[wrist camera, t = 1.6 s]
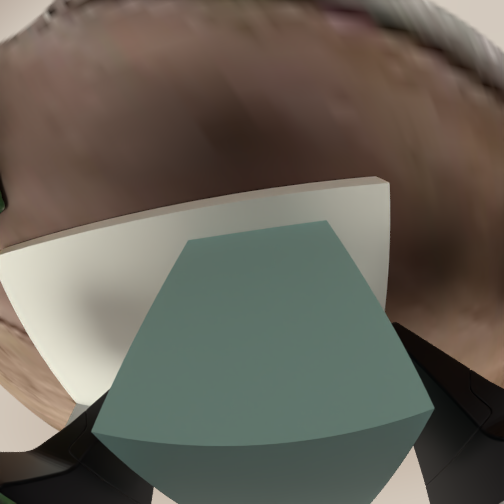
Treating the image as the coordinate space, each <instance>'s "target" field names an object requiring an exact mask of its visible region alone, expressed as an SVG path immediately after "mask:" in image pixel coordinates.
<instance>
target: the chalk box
mask: <svg viewBox="0 0 504 504" xmlns="http://www.w3.org/2000/svg"><path fill="white" fill-rule="evenodd" d="M4 208H5V204H4V201H3V199H2V195H1V192H0V213H1V212H2V211H3V210H4Z"/></svg>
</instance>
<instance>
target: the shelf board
mask: <svg viewBox="0 0 504 504" xmlns="http://www.w3.org/2000/svg"><path fill="white" fill-rule="evenodd" d="M324 220H327V222H328V223H329V224H330V226H331V227H332V229H333V230H334V232H335V233H336V235H337V236H338V238H339V239H340V241H341V242H342V244H343V245H344V247H345V248H346V250H347V251H348V253H349V255H350V256H351V258H352V259H353V261H354V262H355V264H356V265H357V267H358V269H359V270H360V272H361V273H362V275H363V277H364V278H365V280H366V282H367V283H368V285H369V286H370V288H371V290H372V291H373V293H374V295H375V296H376V298H377V300H378V301H379V303H380V305H381V307H382V308H383V310H384V312H385V304H386V294H387V282H388V268H389V248H390V184H389V182H387V181H385V180H383V179H381V178H379V177H377V176H372V177H361V178H351V179H341V180H332V181H323V182H314V183H306V184H298V185H291V186H283V187H276V188H269V189H262V190H256V191H249V192H243V193H237V194H231V195H225V196H219V197H213V198H208V199H202V200H197V201H191V202H186V203H181V204H176V205H171V206H166V207H161V208H156V209H151V210H147V211H142V212H138V213H133V214H129V215H124V216H120V217H116V218H111V219H107V220H103V221H99V222H95V223H91V224H87V225H83V226H79V227H75V228H72V229H68V230H64V231H60V232H57V233H53V234H50V235H46V236H43V237H39V238H36V239H32V240H29V241H26V242H22V243H19V244H16V245H13V246H9V247H6V248H4V249H2V250H1V251H0V281H1V283H2V285H3V287H4V289H5V292H6V294H7V296H8V298H9V300H10V302H11V304H12V306H13V308H14V310H15V312H16V314H17V315H18V317H19V319H20V321H21V323H22V325H23V326H24V328H25V330H26V332H27V333H28V335H29V337H30V338H31V340H32V342H33V343H34V345H35V346H36V348H37V350H38V351H39V353H40V354H41V356H42V357H43V359H44V360H45V362H46V363H47V365H48V366H49V368H50V369H51V370H52V372H53V373H54V375H55V376H56V377H57V379H58V380H59V382H60V383H61V384H62V386H63V387H64V388H65V389H66V391H67V392H68V393H69V395H70V396H71V397H72V398H73V400H74V401H75V402H76V403H77V404H76V406H75V408H74V410H73V412H72V414H71V416H70V418H69V420H68V422H67V424H66V426H67V425H69V424H70V423H71V422H72V421H74V420H75V419H76V418H77V417H78V416H79V415H81V414H82V413H83V412H84V411H86V409H87V408H89V407H90V406H91V405H92V404H93V403H94V402H95V401H96V400H98V399H99V398H100V397H101V396H102V395H103V394H104V393H105V392H107V391H108V390H109V389H110V388H111V386H112V383H113V381H114V379H115V377H116V375H117V373H118V371H119V369H120V367H121V364H122V362H123V360H124V358H125V356H126V354H127V352H128V350H129V348H130V346H131V344H132V342H133V340H134V338H135V336H136V334H137V332H138V330H139V328H140V326H141V325H142V323H143V321H144V319H145V317H146V315H147V313H148V311H149V309H150V307H151V306H152V304H153V302H154V300H155V298H156V296H157V294H158V293H159V291H160V289H161V287H162V285H163V283H164V282H165V280H166V278H167V276H168V274H169V273H170V271H171V269H172V267H173V266H174V264H175V262H176V260H177V259H178V257H179V255H180V253H181V252H182V250H183V248H184V247H185V245H186V243H187V241H188V240H193V239H200V238H206V237H213V236H219V235H226V234H232V233H239V232H245V231H252V230H259V229H266V228H273V227H280V226H287V225H294V224H301V223H309V222H316V221H324ZM66 426H65V427H66Z"/></svg>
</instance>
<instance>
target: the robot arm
mask: <svg viewBox="0 0 504 504" xmlns="http://www.w3.org/2000/svg"><path fill="white" fill-rule="evenodd" d="M391 324H392V326H393V327H394V329H395V331H396V333H397V335H398V337H399V338H400V340H401V342H402V344H403V346H404V348H405V349H406V351H407V353H408V355H409V357H410V359H411V361H412V363H413V365H414V367H415V369H416V371H417V373H418V375H419V377H420V379H421V381H422V383H423V385H424V387H425V389H426V391H427V393H428V395H429V397H430V399H431V402H432V404H433V406H434V410H433V412H432V414H431V416H430V418H429V420H428V421H427V423H426V425H425V427H424V428H423V430H422V432H421V434H420V435H419V437H418V439H417V440H416V442H415V443H414V445H413V446H414V449H415V452H416V455H417V458H418V462H419V465H420V468H421V472H422V475H423V478H424V482H425V485H426V489H427V493H428V497H429V501H430V504H504V389H503V388H501V387H499V386H497V385H496V384H494V383H492V382H490V381H488V380H487V379H485V378H483V377H482V376H480V375H479V374H477V373H476V372H474V371H472V370H470V369H469V368H468V367H466V366H465V365H463V364H462V363H460V362H458V361H457V360H455V359H454V358H452V357H451V356H449V355H448V354H446V353H444V352H443V351H441V350H440V349H438V348H437V347H435V346H433V345H432V344H430V343H429V342H427V341H426V340H424V339H422V338H421V337H419V336H418V335H416V334H415V333H413V332H411V331H410V330H408V329H407V328H405V327H403V326H402V325H400V324H399V323H397V322H393V323H391ZM109 390H110V389H109ZM109 390H108V391H107V392H105V393H104V394H103V395H102V396H101V397H100V398H99V399H98V400H96V401H95V402H94V403H93V404H92V405H91V406H90V407H89V408H87V409H86V411H84V412H83V413H82V414H81V415H79V416H78V417H77V418H76V419H75V420H74V421H72V422H71V423H70V424H69V425H67V426H66V427H65V428H63V429H62V430H61V431H60V432H58V433H57V434H55V435H54V436H53V437H51V438H50V439H48V440H47V441H46V442H44V443H43V444H42V445H40V446H38V447H37V448H35V449H33V450H30V451H26V452H0V504H151V501H152V495H153V488H154V487H153V486H152V485H151V484H149V483H148V482H147V481H146V480H144V479H143V478H142V477H140V476H139V475H138V474H137V473H136V472H134V471H133V470H132V469H131V468H130V467H128V466H127V465H126V464H125V463H124V462H123V461H121V460H120V459H119V458H118V457H117V456H116V455H115V454H114V453H113V452H111V451H110V450H109V449H108V448H107V447H106V446H105V445H104V444H103V443H102V442H101V441H100V440H99V439H98V438H97V437H96V436H95V435H94V434H93V433H92V432H91V431H92V428H93V426H94V424H95V421H96V419H97V417H98V414H99V412H100V410H101V408H102V405H103V403H104V401H105V399H106V396H107V394H108V392H109Z"/></svg>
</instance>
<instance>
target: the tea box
mask: <svg viewBox="0 0 504 504" xmlns="http://www.w3.org/2000/svg"><path fill="white" fill-rule="evenodd" d="M433 410H434V406H433V404H432V402H431V399H430V397H429V395H428V393H427V391H426V389H425V387H424V385H423V383H422V381H421V379H420V377H419V375H418V373H417V371H416V369H415V367H414V365H413V363H412V361H411V359H410V357H409V355H408V353H407V351H406V349H405V348H404V346H403V344H402V342H401V340H400V338H399V337H398V335H397V333H396V331H395V329H394V327H393V326H392V324H391V322H390V320H389V319H388V317H387V315H386V313H385V312H384V310H383V308H382V307H381V305H380V303H379V301H378V300H377V298H376V296H375V295H374V293H373V291H372V290H371V288H370V286H369V285H368V283H367V282H366V280H365V278H364V277H363V275H362V273H361V272H360V270H359V269H358V267H357V265H356V264H355V262H354V261H353V259H352V258H351V256H350V255H349V253H348V251H347V250H346V248H345V247H344V245H343V244H342V242H341V241H340V239H339V238H338V236H337V235H336V233H335V232H334V230H333V229H332V227H331V226H330V224H329V223H328V222H327V220H324V221H316V222H309V223H301V224H294V225H287V226H280V227H273V228H266V229H259V230H252V231H245V232H239V233H232V234H226V235H219V236H213V237H206V238H200V239H193V240H188V241H187V243H186V245H185V247H184V248H183V250H182V252H181V253H180V255H179V257H178V259H177V260H176V262H175V264H174V266H173V267H172V269H171V271H170V273H169V274H168V276H167V278H166V280H165V282H164V283H163V285H162V287H161V289H160V291H159V293H158V294H157V296H156V298H155V300H154V302H153V304H152V306H151V307H150V309H149V311H148V313H147V315H146V317H145V319H144V321H143V323H142V325H141V326H140V328H139V330H138V332H137V334H136V336H135V338H134V340H133V342H132V344H131V346H130V348H129V350H128V352H127V354H126V356H125V358H124V360H123V362H122V364H121V367H120V369H119V371H118V373H117V375H116V377H115V379H114V381H113V383H112V386H111V388H110V390H109V392H108V394H107V396H106V399H105V401H104V403H103V405H102V408H101V410H100V412H99V414H98V417H97V419H96V421H95V424H94V426H93V428H92V431H91V432H92V433H93V434H94V435H95V436H96V437H97V438H98V439H99V440H100V441H101V442H102V443H103V444H104V445H105V446H106V447H107V448H108V449H109V450H110V451H111V452H113V453H114V454H115V455H116V456H117V457H118V458H119V459H120V460H121V461H123V462H124V463H125V464H126V465H127V466H128V467H130V468H131V469H132V470H133V471H134V472H136V473H137V474H138V475H139V476H140V477H142V478H143V479H144V480H146V481H147V482H148V483H149V484H151V485H152V486H153V487H155V488H156V489H158V490H159V491H160V492H162V493H163V494H164V495H166V496H167V497H169V498H170V499H172V500H173V501H175V502H176V503H178V504H370V503H371V502H372V501H373V499H375V498H376V496H377V495H378V494H379V493H380V491H381V490H382V489H383V488H384V486H385V485H386V484H387V482H388V481H389V480H390V478H391V477H392V476H393V474H394V473H395V471H396V470H397V469H398V467H399V466H400V465H401V463H402V462H403V460H404V459H405V457H406V456H407V454H408V453H409V451H410V450H411V448H412V446H413V445H414V443H415V442H416V440H417V439H418V437H419V435H420V434H421V432H422V430H423V428H424V427H425V425H426V423H427V421H428V420H429V418H430V416H431V414H432V412H433Z"/></svg>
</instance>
